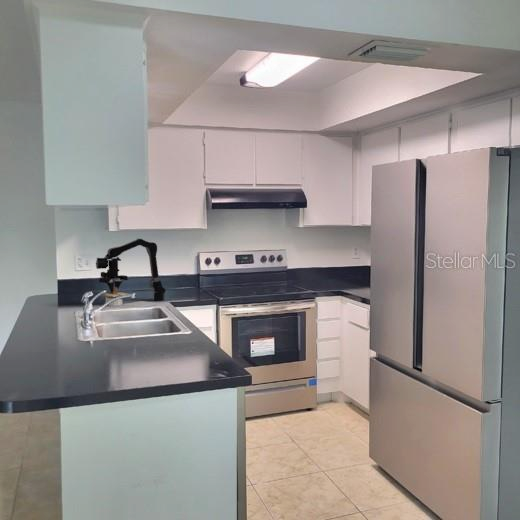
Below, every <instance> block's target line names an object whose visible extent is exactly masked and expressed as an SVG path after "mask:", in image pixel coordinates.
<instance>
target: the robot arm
mask: <svg viewBox="0 0 520 520" xmlns="http://www.w3.org/2000/svg"><path fill="white" fill-rule="evenodd" d="M138 246H141V247H143V248H145V250H146V253H147V255H148V256H149V266H150V273H151V279H149V280H148V281H149V287H150V288H151V290H153V292H154V293H153V302H163V301H165V293H166V289H165V288H164V287H163V284H162V281H161V278H160V277H159V269H158V263H157V262H158V261H157V252H158V244H157V243H155V242H154V241H153V242H151V241H147V240H144V239H143V238H137V239H134V240H132V241H130V242H127V243H125V244H122V245H120V246H115V247H110V248H108V250H107V252H106V253H107V254H106V255H105V256H104V257H96V260H95V261H96V262H95V267H96V269H97V270H99V269H107V268H108V269H107V270H106V272H105V271H101V272H100V277H99V279H98V282H99V283H104V284H107V286H108V288H109V291H110V292H111V293H113V287H117V292H119V289H120V287H121V286H120V285H122V283H123V281H128V280H129V277H128V276H127V275H126V274H125V275H124V274H121V275H119V272H120V269H119V261H120V262H121V261H122V259H121V258H120V257H119V256H120V255H122V254H123V253H124V252H126V251H128V250H131V249H134V248H136V247H138Z"/></svg>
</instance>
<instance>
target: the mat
mask: <svg viewBox="0 0 520 520" xmlns="http://www.w3.org/2000/svg"><path fill="white" fill-rule="evenodd" d="M157 303H158V302H154V301H153V302H151V301H143V300H140V301H135V302H129V303H122V306H128V307H135V308H144V307H149V306H156V305H158V304H157ZM155 304H156V305H155Z"/></svg>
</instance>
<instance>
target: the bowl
mask: <svg viewBox="0 0 520 520" xmlns="http://www.w3.org/2000/svg"><path fill="white" fill-rule="evenodd" d="M117 297H118V296H117ZM113 298H116V297H108V296H105V303H106V302H107V301H109V300H111V299H113ZM121 305H123V298H122V299H118V300H116V301H114V302H112V303H110V304H109V305H108V306H121Z"/></svg>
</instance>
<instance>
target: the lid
mask: <svg viewBox="0 0 520 520" xmlns="http://www.w3.org/2000/svg"><path fill="white" fill-rule="evenodd" d="M100 294H101V295H99V296H101V297H117V296H121V295H123V296H127V295H126V294H129V295H130V293H127V292H122V291H121V292H120V291H117V287H115V286H114V287H113V293H111V291H110V292H104V294H103V293H100ZM121 297H122V296H121Z"/></svg>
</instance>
